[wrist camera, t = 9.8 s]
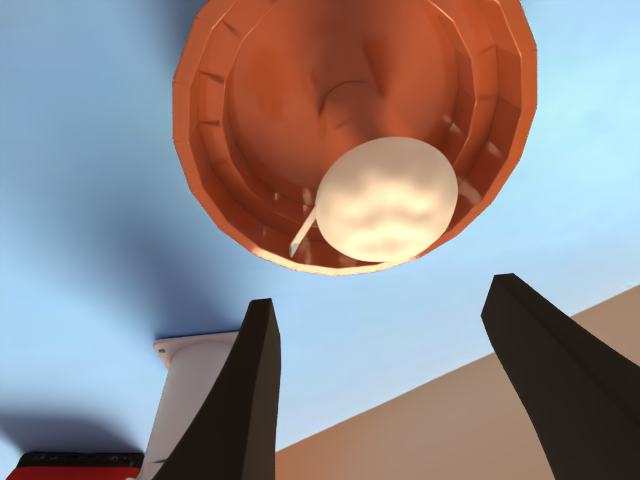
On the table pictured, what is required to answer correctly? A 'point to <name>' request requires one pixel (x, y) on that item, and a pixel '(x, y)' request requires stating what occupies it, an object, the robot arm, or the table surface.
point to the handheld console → (77, 466)
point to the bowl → (321, 78)
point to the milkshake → (377, 180)
